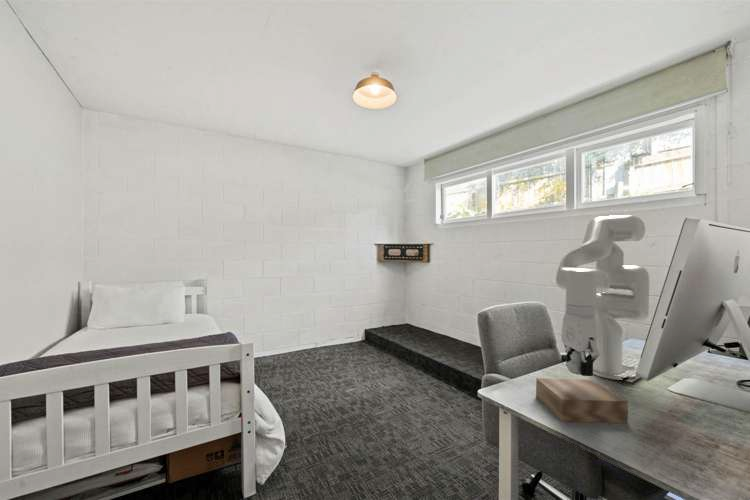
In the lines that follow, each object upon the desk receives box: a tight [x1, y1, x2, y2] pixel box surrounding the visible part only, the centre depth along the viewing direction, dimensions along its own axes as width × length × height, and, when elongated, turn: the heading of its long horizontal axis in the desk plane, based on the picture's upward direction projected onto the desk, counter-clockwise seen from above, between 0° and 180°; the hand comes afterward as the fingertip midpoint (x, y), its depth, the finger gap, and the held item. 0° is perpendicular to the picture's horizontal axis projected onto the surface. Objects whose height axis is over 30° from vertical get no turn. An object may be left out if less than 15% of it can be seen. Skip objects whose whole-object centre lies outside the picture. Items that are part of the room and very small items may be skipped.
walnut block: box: [535, 377, 629, 424], centre depth 92 cm, size 18×14×6 cm
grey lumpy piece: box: [566, 351, 582, 376], centre depth 91 cm, size 5×7×8 cm
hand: (578, 370), depth 91 cm, fingers closed on grey lumpy piece, 6 cm apart
